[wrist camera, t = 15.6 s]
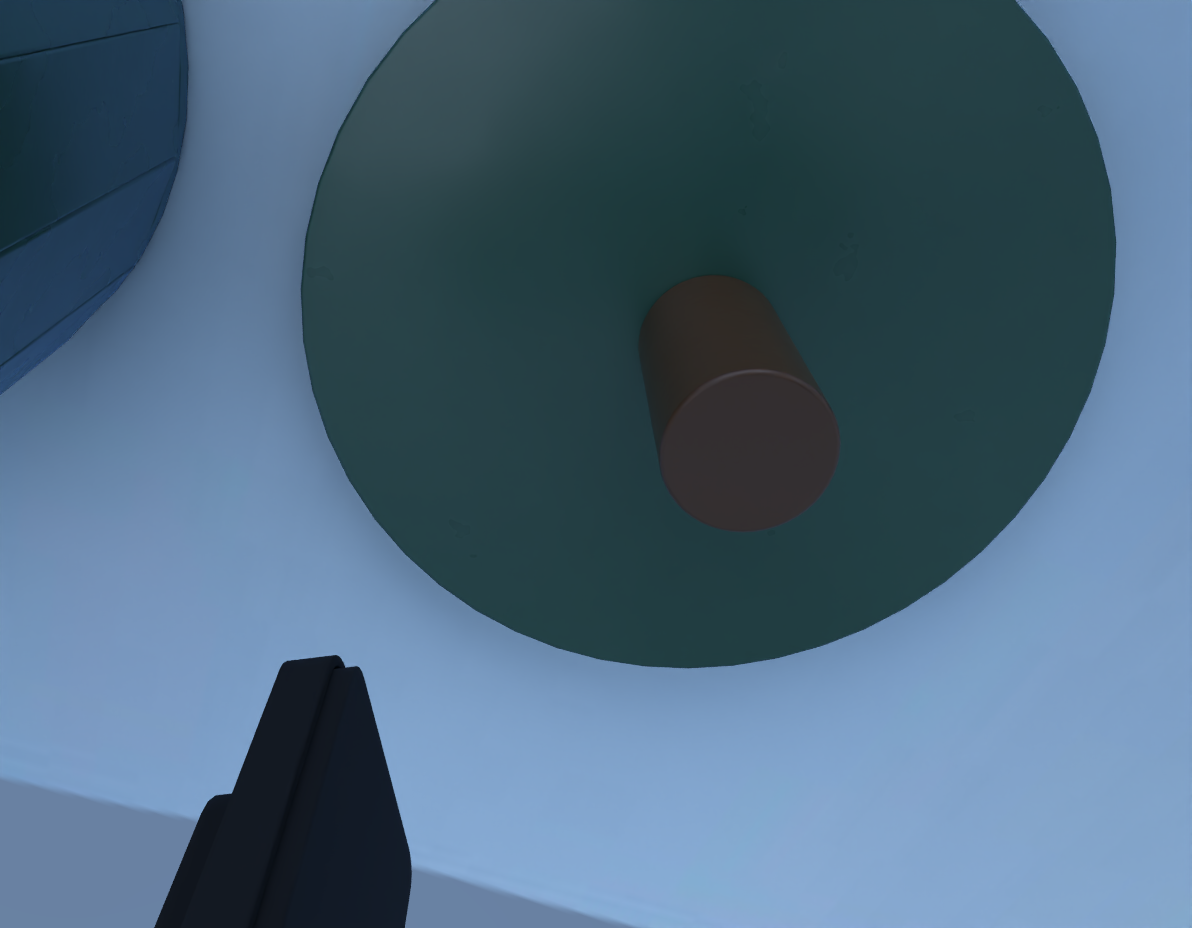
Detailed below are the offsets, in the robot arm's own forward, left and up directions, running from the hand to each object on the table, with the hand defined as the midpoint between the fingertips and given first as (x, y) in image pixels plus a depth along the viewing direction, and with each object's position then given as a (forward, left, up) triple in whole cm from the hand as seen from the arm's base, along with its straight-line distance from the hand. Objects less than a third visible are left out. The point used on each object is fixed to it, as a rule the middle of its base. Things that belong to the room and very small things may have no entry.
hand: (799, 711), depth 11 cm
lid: (0, 0, -11) cm, 11 cm away
